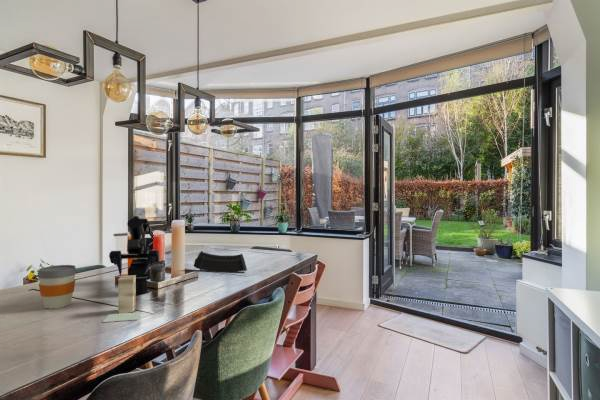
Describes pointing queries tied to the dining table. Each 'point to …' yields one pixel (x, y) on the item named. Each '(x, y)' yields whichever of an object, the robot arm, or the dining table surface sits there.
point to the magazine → (220, 263)
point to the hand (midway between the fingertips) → (132, 274)
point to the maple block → (126, 294)
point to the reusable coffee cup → (57, 285)
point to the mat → (122, 317)
